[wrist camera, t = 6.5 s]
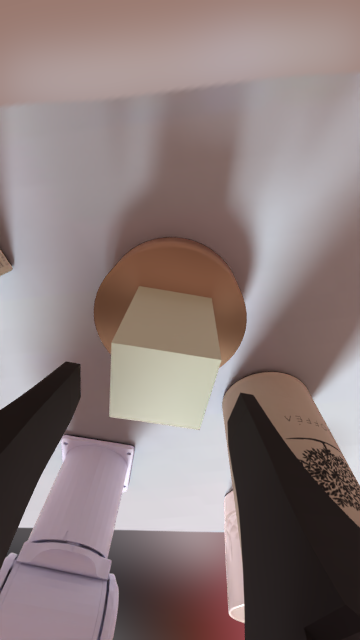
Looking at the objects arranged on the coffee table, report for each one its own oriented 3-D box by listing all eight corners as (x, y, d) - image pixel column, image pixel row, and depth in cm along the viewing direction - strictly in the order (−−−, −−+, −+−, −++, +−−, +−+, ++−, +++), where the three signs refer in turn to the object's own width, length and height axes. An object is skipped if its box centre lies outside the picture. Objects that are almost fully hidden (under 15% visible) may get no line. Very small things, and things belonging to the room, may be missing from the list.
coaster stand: (218, 365, 22) (222, 391, 19) (104, 345, 21) (92, 368, 19) (258, 254, 17) (270, 268, 14) (111, 222, 16) (95, 231, 14)
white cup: (221, 482, 31) (232, 600, 22) (285, 484, 31) (322, 605, 22) (217, 512, 35) (225, 623, 26) (274, 515, 35) (302, 628, 26)
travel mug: (262, 438, 26) (363, 812, 11) (204, 405, 24) (226, 811, 9) (326, 397, 23) (603, 852, 8) (265, 354, 21) (474, 864, 5)
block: (197, 355, 18) (199, 429, 12) (134, 345, 17) (109, 416, 12) (211, 298, 15) (221, 359, 10) (139, 285, 15) (111, 342, 10)
